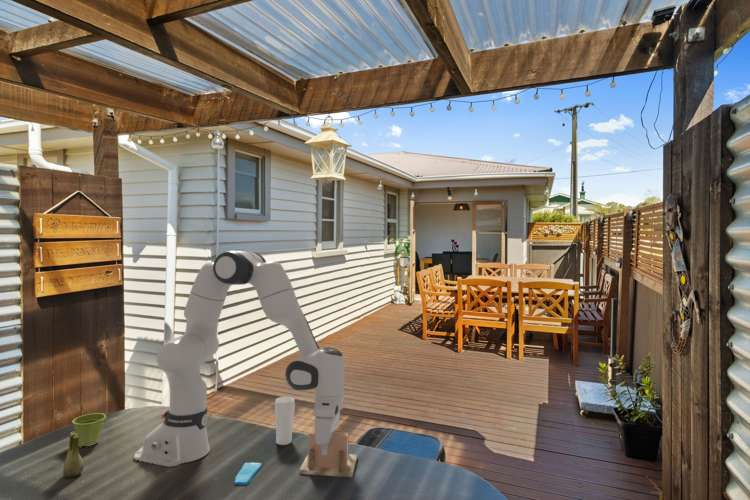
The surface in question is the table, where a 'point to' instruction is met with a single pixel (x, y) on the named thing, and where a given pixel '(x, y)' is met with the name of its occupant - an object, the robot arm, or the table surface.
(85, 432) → the plant pot
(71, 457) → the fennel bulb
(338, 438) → the ceramic tile
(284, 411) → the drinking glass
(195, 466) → the table surface
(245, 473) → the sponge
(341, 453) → the slot rack
